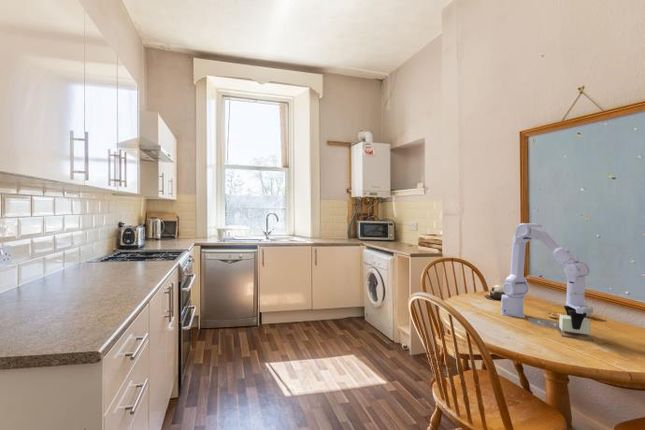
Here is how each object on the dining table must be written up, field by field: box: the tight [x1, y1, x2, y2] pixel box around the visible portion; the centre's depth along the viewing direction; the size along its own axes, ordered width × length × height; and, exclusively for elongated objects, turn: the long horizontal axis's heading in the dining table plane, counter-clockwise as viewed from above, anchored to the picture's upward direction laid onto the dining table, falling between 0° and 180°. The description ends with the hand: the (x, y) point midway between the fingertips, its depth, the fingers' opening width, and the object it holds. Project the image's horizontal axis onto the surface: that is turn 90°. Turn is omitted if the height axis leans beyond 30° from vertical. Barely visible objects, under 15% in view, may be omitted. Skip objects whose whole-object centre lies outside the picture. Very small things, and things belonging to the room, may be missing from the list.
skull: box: [484, 284, 506, 302], centre depth 191 cm, size 12×10×10 cm
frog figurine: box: [583, 301, 594, 318], centre depth 161 cm, size 6×7×7 cm
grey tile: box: [527, 317, 560, 329], centre depth 149 cm, size 14×10×1 cm
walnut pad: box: [555, 327, 594, 342], centre depth 136 cm, size 10×10×1 cm
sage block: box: [558, 314, 592, 336], centre depth 136 cm, size 9×6×5 cm, turn 66°
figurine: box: [547, 311, 565, 319], centre depth 156 cm, size 8×6×12 cm
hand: (574, 326), depth 136 cm, fingers closed on sage block, 5 cm apart
